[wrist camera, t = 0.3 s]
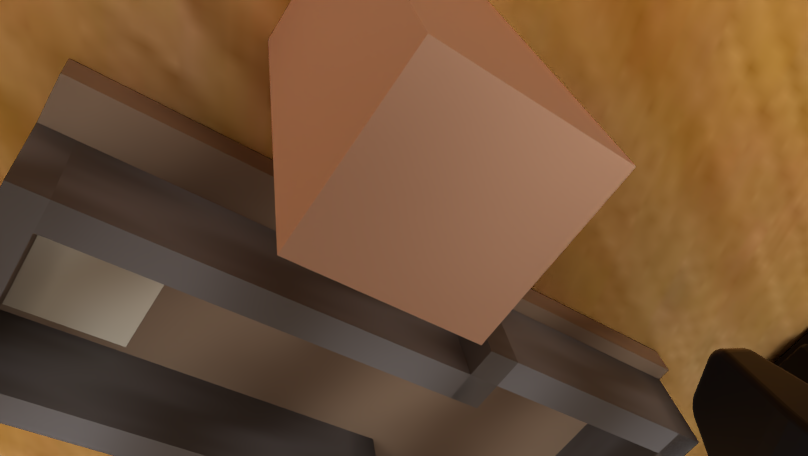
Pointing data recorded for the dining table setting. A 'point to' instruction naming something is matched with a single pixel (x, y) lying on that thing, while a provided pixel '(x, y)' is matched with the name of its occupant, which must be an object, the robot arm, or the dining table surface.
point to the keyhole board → (262, 319)
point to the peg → (428, 156)
